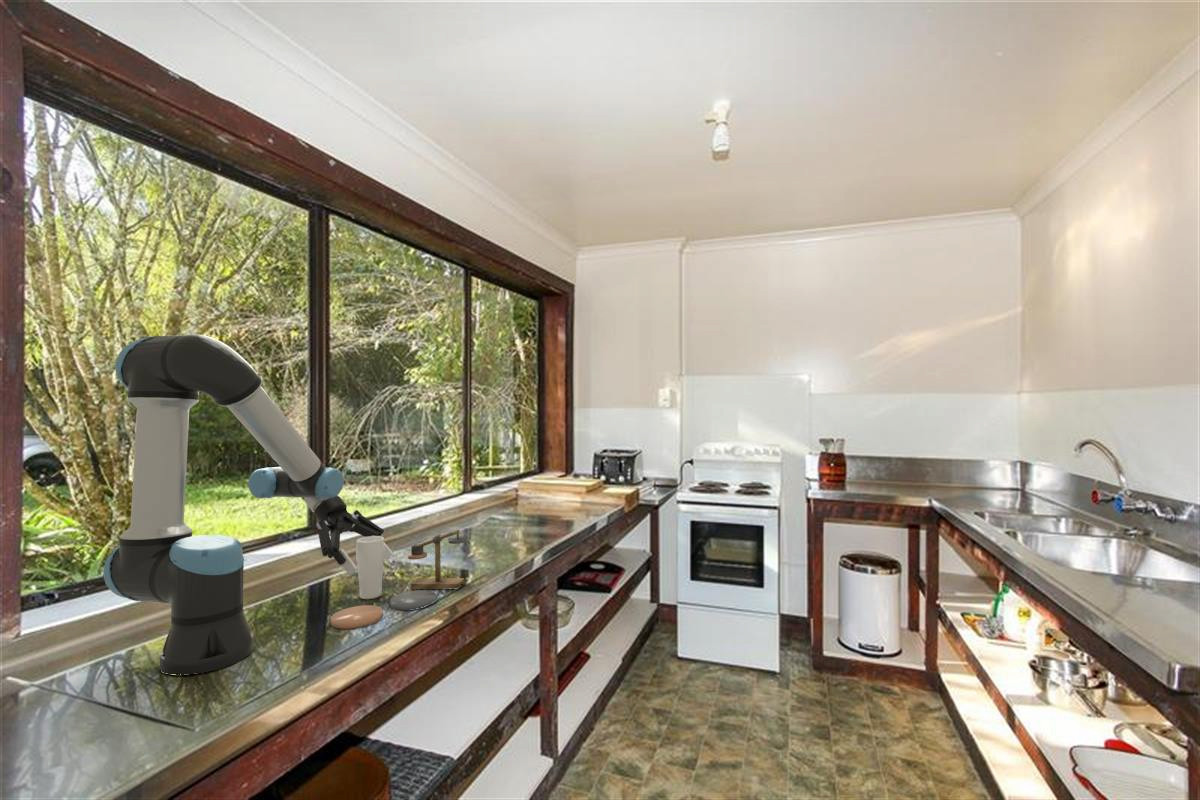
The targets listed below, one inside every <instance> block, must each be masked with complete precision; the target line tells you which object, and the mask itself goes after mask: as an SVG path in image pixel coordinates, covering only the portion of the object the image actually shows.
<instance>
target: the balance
mask: <svg viewBox="0 0 1200 800" xmlns="http://www.w3.org/2000/svg"><path fill="white" fill-rule="evenodd" d="M459 533H460V529H455V530H452V531H451V532H447V533H444V534H441V533H439V534H436V535H435V536H433V537H432V538H431V539H428V540H426V541H424V542H420V543H415V544H413V545H411V552H410V553H408V554H407V558H408V560H421V559H422V560H423V559H425V558H427V557H428V552H426V551H424V547H425V546H428V545H430V544H434V571H435V572H434V575H435V576H434V577H418V578H417V579H415V580H414V581H412V583H411V584H410V591H415V590H416V589H444V588H458V587H460V586H461V584H462V583H463V582H464V583H465V578H463V577H460V578H459V577H457V578H456V577H455V578H454V577H453V578H452V577H450V578H449V577H441V575H442V574H441V570H442V569H441V568H442V567H441V542H442V540H444V539H446V538H448V539H447V541H448V544H451V545H459V544H465V543H467V542H468V537H466V536H460V535H459ZM454 535H456V536H454Z"/></svg>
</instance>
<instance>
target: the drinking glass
mask: <svg viewBox="0 0 1200 800" xmlns="http://www.w3.org/2000/svg"><path fill="white" fill-rule="evenodd" d="M384 541H385V538H384V536H382V535H381V536H374V535H373V536H368V537H364V536H362V537H359V538H358V539H356V542H355V543H356V546H355V555H356V558H355V559H356V566H357V568H358V569H357V578H358V589H359V592H358V593H359V598H360V599H362V600H373V599H377V598H379V597H380V596H382V592H383V588H382V587H383V574H384V563H385V561H384V560H385V559H384Z"/></svg>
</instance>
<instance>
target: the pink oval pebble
mask: <svg viewBox="0 0 1200 800" xmlns="http://www.w3.org/2000/svg"><path fill="white" fill-rule="evenodd" d="M383 612H384V611H383V609H382V607H381V606H377V605H366V604H365V605H356V606H352V607H347V608H344V609H341V610H338V611H336V612H335V613H334V614H332V615H331V617H330V626H332V628H335V629H339V630H340V629H341V630H349V629H350V630H352V629H359V628H362V627H363V628H364V627H367V626H370V625H373V624H375V623H377V622H378V621H381V619H382V618H383Z"/></svg>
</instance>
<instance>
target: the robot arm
mask: <svg viewBox="0 0 1200 800" xmlns="http://www.w3.org/2000/svg"><path fill="white" fill-rule="evenodd" d="M114 369H115V374H116V377H117V379H118V381H120V382H121V383H122V384H121V385H122V386H123V387H125V388H126V389H127V400H128V402H129V403H131V404H132V405H133V406H134V407H135V408H136V419H135V437H134V440H135V441H134V456H133V459H134V460H133V470H132V471H133V473H132V494H131V506H130V507H131V512H130V526H129V527H128V528H127V529H126V530H125V531H124V532H123V533H122V534H120V536H119V544H118V546H116V547H115V548H114V549H113V550H112V553H111V554H109V555H108V556H107V558H106V560H105V562H104V566H103V579H104V583H105V585H106V587H108V589H109V590H110V591H111V592H112V593H113V594H115V595H116V596H118V597H121V598H124V599H128V600H131V601H134V602H151V603H152V602H153V603H163V604H170V628H169V630H168V633H167V636H166V639H165V641H164V644H163V648H162V651H161V653H160V655H159V671H160V670H161V671H162V672H164V673H168V674H176V675H180V674H181V675H184V674H194V673H201V674H205V673H204V672H206V673H210V672H214V671H217V670H221V669H224V668H226V667H228V666H231V665H234V664H236V663H238V662H240V661H242V660H244V659H245V658H247V657H248V656H249V655H251V654H252V653H253V651H254V648H255V646H254V641H255V640H254V634H253V632H251V629H250V627H249V624H248V620H247V618H246V615H245V613H244V570H245V569H244V565H245V564H244V562H245V558H244V557H245V556H244V554H243V546H242V543H241V541H239V540H238V539H237V538H235V537H233V536H229V535H223V534H212V535H209V534H199V535H193V529H192V528H191V527H190V526H189V525H187V524H186V523H185V506H186V505H185V504H186V483H187V482H186V481H187V466H188V465H187V464H188V461H187V460H188V446H189V445H188V443H189V442H188V441H189V426H190V425H189V423H190V422H189V421H190V409H191V408H192V407H194V406H195V405H196V404H198V403H199V402H200V401H199V397H200V393H202V394H205V395H206V396H208V397H210V398H211V399H212V400H213V401H214V402H215V403H216V405H218V406H220V407H227V409H228V410H229V411H230V412H231V413H232V414H233V416H234V417H235V418H236V419H237V420H238V421H239V422H240V423H241V424H242V425H243V427H244V428H245V429H247V431H248V432H249V433H250V434H251V436H252V437H253V438H254V439H255V440H256V441H257V442H258V443H259V445H260V446H261V447H263V449H264V450H265V451H266V452H267V453H268V455H269V456H270V457H271V458H272V459H273V460H274V461H275V462H276V463H277V465H278V466H274V467H273V466H272V467H267V466H266V467H264V468H263V467H262V468H258V469H256V470H254V471H253V472H252V473H251V474H250V476H249V478H248V490H249V492H250V494H251V495H252V496H253V497H254V498H256V499H271V498H276V497H277V498H278V497H279V498H301V499H302V500H303V502H304V503H305V504H306V505H307V507H308V508H309V509H310V511H311V512H312V513H313V514H314V516H315V517H316V519H317V520H318V522H317V523H316V525H314V529H315V530H316V532H317V533H318V540H319V544H320V549H321V553H322V556H323V557H328V558H329V559H333V558H334V560H335V561H336V562H337V564H338V565H340V566H341V567H342V568H343V570H344V571H345V572H346V574H347V575H348V576H349V577H351V576H353V574H354V573H355V572H356V571H358V568H357V564H355V563H354V562H353V560H352V559H351V557H350V556H349V555H348V553H347V552H346V551H345V550H344V548H340V543H341V535H342V534H343V533H347V532H350V533H353V532H354V533H356V534H358V535H360V536H362V537H368V536H381V537H382V536H383V533H385V530H384V529H383V528H381V527H380V526H379V525H378V524H376V523H374V522H372V521H371V520H370V519H368V518H367V517H365V516H364V515H363V514H362V513H361V512H360V511H359V510H357V509H356V510H354V511H353V512H352V513H349V511H348V510H347V506H348V505H347V504H346V503H345V501H344V500H343V499H342V497H340V496H339V495H340V493H341V492H342V490H343V487H344V483H345V480H344V475H343V473H342V471H341V470H339V469H337V468H333V467H329V466H328V467H326V466H325V464H324V463H323V462H322V461H321V459H320V458H319V457H318V456H317V455H316V453H315V452H314V451H313V450H312V449H311V446H309V445H308V443H307V442H306V441H305V440H304V438H303V437H302V436H301V434H300V433H299V432H298V431H297V429H296V428H295V427H294V426H293V425H292V424H291V423H292V422H290V421H289V420H288V419H287V417H286V416H285V415H284V413H283V412H282V410H281V409H279V407H278V406H277V405H276V403H275V402H274V401H273V399H272V398H271V396H270V395H268V394H267V391H265V389H264V388H263V386H262V384H263V379H262V378H261V376H260V375H259V374H258V372H256V370H255V369H254V367H252V365H251V364H250V363H249V362H248V361H247V360H245V358H244V357H242V356H241V355H240V354H239V353H238V352H237V351H235V350H234V349H232V348H231V346H228V345H227V344H226V343H225V342H223V341H221V340H219V339H217V338H214V337H211V336H208V335H205V334H198V333H197V334H192V333H191V334H182V335H153V336H147V337H144V338H139V339H136V340H133V341H131V342H130V343H128V344H127V345H125V346H124V347H123V348H122V349H121V350H120V352H119V353H118V355H117V358H116V360H115V367H114ZM329 530H330V531H329ZM394 554H395V553H394V552H393V551H392V549H390V547H389V546H388V543H387V542H386V541H385V540H384V560H385V561H386V562H387V561H389V559H390V558H391V557H392V556H394ZM213 670H214V671H213ZM209 671H210V672H209ZM202 672H203V673H202Z"/></svg>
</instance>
